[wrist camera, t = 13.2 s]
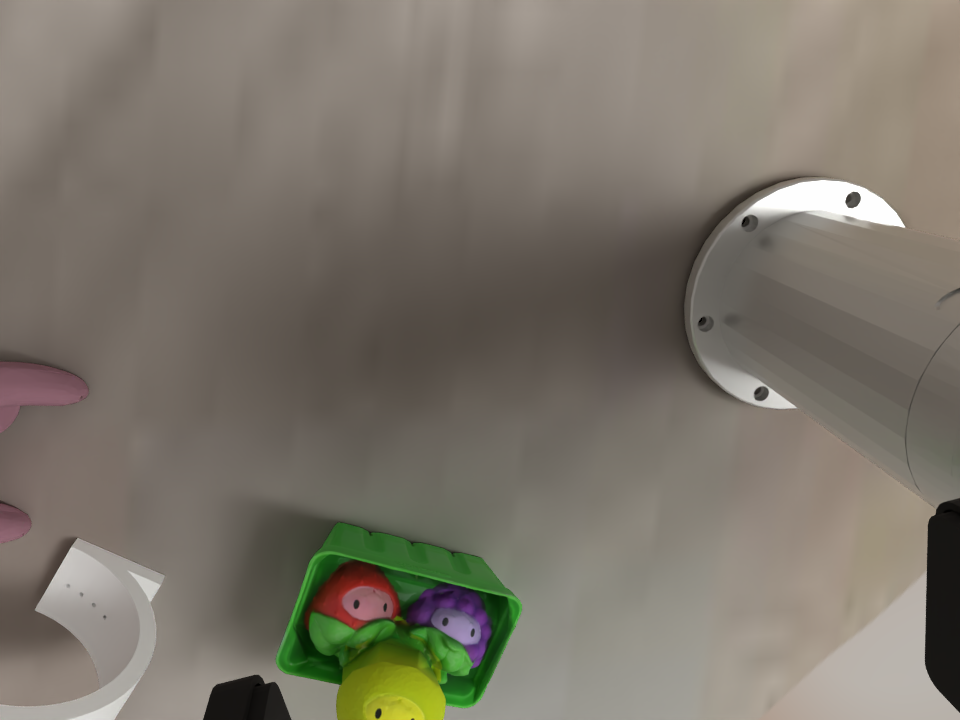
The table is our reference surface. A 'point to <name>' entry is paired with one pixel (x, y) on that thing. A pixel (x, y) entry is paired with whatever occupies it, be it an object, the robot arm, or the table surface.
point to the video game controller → (31, 384)
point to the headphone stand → (100, 628)
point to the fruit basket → (397, 626)
